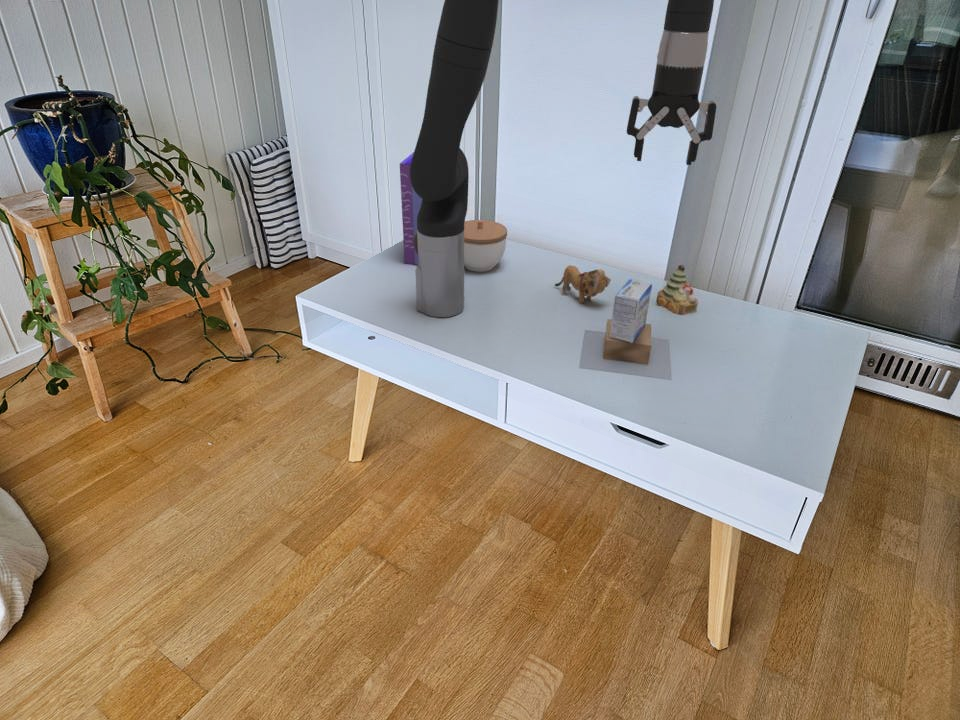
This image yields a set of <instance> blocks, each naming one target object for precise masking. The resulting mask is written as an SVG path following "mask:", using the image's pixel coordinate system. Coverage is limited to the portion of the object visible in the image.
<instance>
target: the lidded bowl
mask: <svg viewBox="0 0 960 720" xmlns="http://www.w3.org/2000/svg"><path fill="white" fill-rule="evenodd" d="M507 236H508V228H507V227H506V225H504V224H503V223H500V222H496V221H494V220H487V219H486V220H485V219H472V220H471V219H470V220H465V222H464V269H465V268H466V269H467V270H468V271H471V272H480V273H481V272H482V273H483V272H488V271H491V270H492V269H494V268H495V267H496V265H498V264H499V262H500V261H501V260H502V258H503V256H504V253H505V251H506V247H507Z"/></svg>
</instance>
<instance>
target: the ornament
mask: <svg viewBox="0 0 960 720" xmlns="http://www.w3.org/2000/svg"><path fill="white" fill-rule="evenodd" d="M685 269H686V267H685V266H684V265H683V264H680V265H678V266H677V269H675V270H673V272H672V273H671V274H670V275H669V279H667V280H666V285H665V286H663V288H662V289H660V290H658V292H657V296H656V300H655V303H656V305H657V306H658V307H662V308H666V309H667V310H668V311H669V312H671V313H672V314H676V315H679V316H680V315H681V316H682V315H686V314H690V313H694V312H696V311H697V308H698V305H699V301H698V298H697V296H696V295H695V293H694V288H693V287H692V286H691V285H689V284H688V282H687V281H688V278H687V273H686V271H685Z"/></svg>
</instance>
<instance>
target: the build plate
mask: <svg viewBox="0 0 960 720" xmlns="http://www.w3.org/2000/svg"><path fill="white" fill-rule="evenodd" d="M605 334H606V331H598V330H592V329H584V334H583V339H582V346H581V351H580V352H581V353H580V359H579V365H578V368H579V369H584V370H591V371H597V372H598V371H599V372H608V373H613V374H614V373H615V374H623V375H630V376H638V377H639V376H640V377H646V378H654V379H661V380H668V381H672V380H673V379H672V364H671V351H670V339H668V338H667V339H666V338H658V337H657V338H656V337H651V344H652V346H651V351H650V356H649V362H648V365H647V364H639V363H631V362H623V361H615V360H607V359H603V353H604V343H605Z"/></svg>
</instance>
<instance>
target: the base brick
mask: <svg viewBox="0 0 960 720" xmlns="http://www.w3.org/2000/svg"><path fill="white" fill-rule="evenodd" d="M611 321H612V318H607V321H606V326H605V327H606V328H605V332H606V334H605V343H604V353H603V359H607V360H615V361H623V362H631V363H639V364H647V365H648V362H649V356H650V351H651V346H652V344H651V338H652V323H647V322H646V324H645V326H644V327H643V329H642V330H641V332H640V333H639V335H638V336H637V337H636V339H635V340H634V342H633V343H630V342H626V341H622V340H618V339H614V338H611V337H610V329H611Z"/></svg>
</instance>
